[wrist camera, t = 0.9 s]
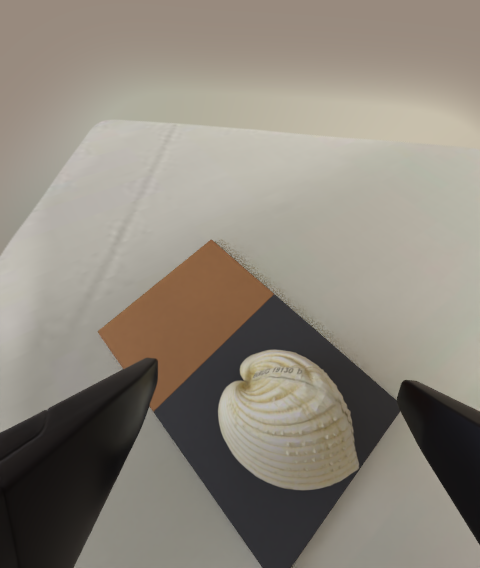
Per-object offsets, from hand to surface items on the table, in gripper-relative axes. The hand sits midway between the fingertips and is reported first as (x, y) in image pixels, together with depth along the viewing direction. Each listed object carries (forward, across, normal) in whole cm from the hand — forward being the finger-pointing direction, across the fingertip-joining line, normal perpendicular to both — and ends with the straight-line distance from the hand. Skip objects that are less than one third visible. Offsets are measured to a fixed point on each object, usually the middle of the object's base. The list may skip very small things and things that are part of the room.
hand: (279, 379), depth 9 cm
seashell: (+8, -2, +8) cm, 12 cm away
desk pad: (+10, +1, +6) cm, 12 cm away
